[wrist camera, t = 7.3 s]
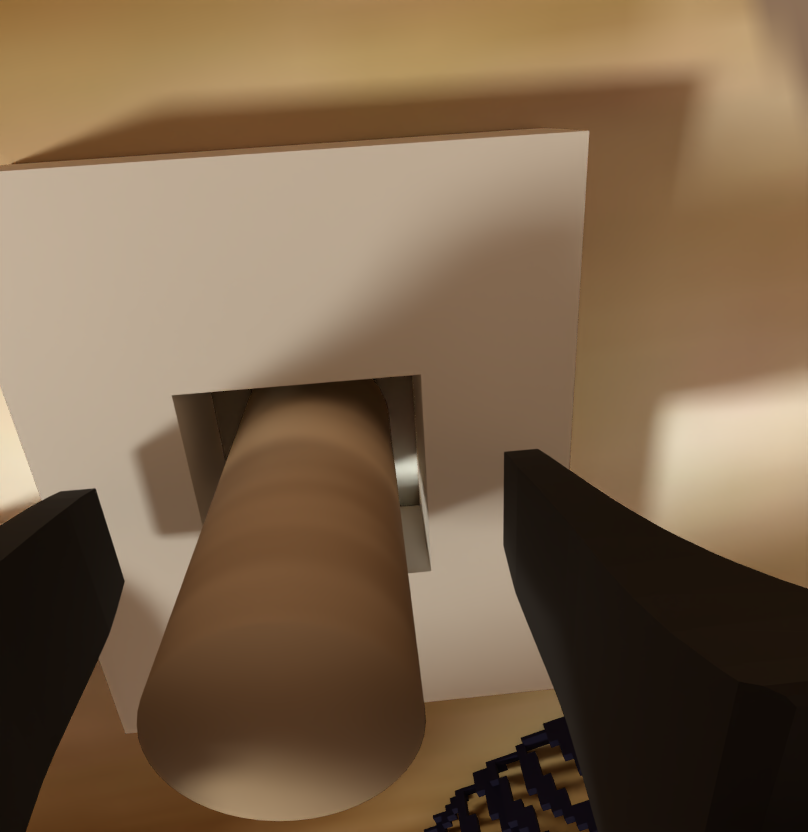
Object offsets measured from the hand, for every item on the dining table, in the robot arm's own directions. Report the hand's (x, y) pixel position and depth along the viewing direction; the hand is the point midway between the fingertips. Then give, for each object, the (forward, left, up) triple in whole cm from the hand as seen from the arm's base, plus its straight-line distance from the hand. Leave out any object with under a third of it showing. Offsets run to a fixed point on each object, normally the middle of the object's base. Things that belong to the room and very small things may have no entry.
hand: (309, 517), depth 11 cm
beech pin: (0, 0, -3) cm, 3 cm away
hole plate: (0, 0, -3) cm, 3 cm away
